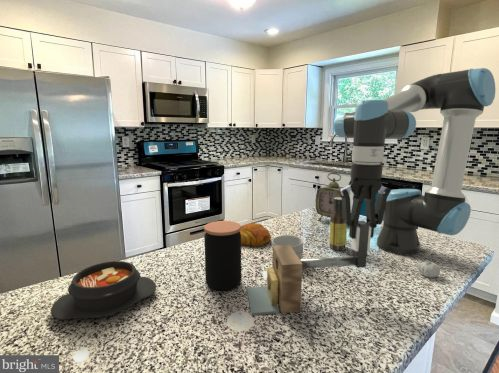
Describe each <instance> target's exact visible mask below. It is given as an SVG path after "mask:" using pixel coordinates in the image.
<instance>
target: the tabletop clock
mask: <svg viewBox="0 0 499 373" xmlns="http://www.w3.org/2000/svg"><path fill="white" fill-rule="evenodd" d="M330 175H338V176H339V179H336V178H335V177H334V178H329V176H330ZM327 179H328V180H329V181H330V182H329V183H328V185H326V186H323V187H320V188H317V191H316V194H315V211H316V213H317V214H318V215H320V217H318V218H317V219H318V221H319V220H321V221H322V218H323V217H326V218H330V216H331V213H332V212H333V210H334V198H336V197H340V198H342V196H341V194H340V191H339V189H340V188H344V187H341V186H340V185H339V183H338V182H339V181H341V179H342V176H341V175H340V173H338V172H331V173H328V175H327Z"/></svg>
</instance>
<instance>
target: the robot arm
mask: <svg viewBox="0 0 499 373" xmlns="http://www.w3.org/2000/svg"><path fill="white" fill-rule="evenodd" d="M495 97H496V82H495V78H494V75H493V73H492V71H491V70H490V69H488V68H484V67H482V68H481V67H480V68H469V69H464V70H458V71H451V72H446V73H445V72H444V73H438V74H433V75H429V76H427V77H424V78H422V79H419V80H417V81H415V82H412V83H411V84H409V85H406V86H404V87H403V88H402V89H401V90H400V91H399V92H397V93H395V94H392V95H389V96H388V97H385V98H383V99H366V100H360V101H358V102H357V103H356V105H355V111H353V112H344V113H340V114H338V115H337V116H336V117H335V119H334V121H333V130H334V133H335V134H336V136H337V137H339V138H346V139H353V142H352V149H351V150H352V153H351V161H352V163H351V164H350V165H351V166H350V181H349V183H348V185H346V186H345V187H343V188H340V189H339V191H340V194H341V196H342V213H343V222H344V223H345V224H347V227H348V226H349V230H348V231H349V232H348V236H349V238H350V239H351V244H350V247H351V249H352V250H353V249H354V250H355V251H358V249H359V237H360V228H359V227H358V221H360V220H359V219H360V215H361V212H362V204H363V203H364V200H365V215H366V216H365V218H366V221H365V222H367V223H368V224H369V235H368V247H367V252H369V251H370V249H371V248H370V247H371V239H373V238H374V236H375V235H374V232H375V229H376V228H378V225H382V224H383V225H382V228H381V229H380V232H379V234H378V237H377V238H376V246H377V247H378V248H380V249H381V250H383V251H386V252H389V253H392V254H396V255H397V254H398V255H404V256H406V255H416V254H419V253H420V251H421V250H420V249H421V244H420V239H419V236H418V232H417V229H418V228H421V229H424V230H428V231H431V232H435V233H438V234H441V235H442V234H443V235H447V236H456V235H459V233H461V232H462V231H463V230H464V228H465V227H466V225H467V223H468V221H469V219H470V217H471V212H472V211H471V205H470V204H469V203H468V202H465V201H466V195H465V194H464V193H463V192H462V188H463V182H464V180H465V179H464V177H465V174H466V168H467V163H468V158H469V154H470V149H471V143H472V140H473V139H472V138H473V134H474V128H475V124H476V119H477V118H478V117H479V116H481V115H483V114H484V110H485V107H489V106H491V105H492V104H493V102H494V100H495ZM435 109H437V110H438V109H440V111H439V113H440V114H441V115H442V116H443V122H442V123H443V124H442V127H441V132H440V138H439V144H438V147H437V148H438V149H437V154H436V158H435V164H434V170H433V174H432V180H431V186H430V187H429V188H428V189H426V190H424V195H422V193H423V192H422V191H421V190H420V189H416V188H398V189H391V188H389V187H386V186H384V185H383V184H382V181H381V180H382V178H383V168H384V165H383V164H382V163H383V161H384V152H385V144H386V140H402V139H406V138H409V137H410V136H411V135H412V134H413V133H414V132H415V130H416V128H417V120H416V117H415V115H414V114H413V113H415V112H418V111H421V110H435ZM351 192H352V194H353V195H352V196H353V197H352V205H351V196H350V195H351ZM376 195H377V198H376Z"/></svg>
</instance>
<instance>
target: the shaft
mask: <svg viewBox="0 0 499 373" xmlns="http://www.w3.org/2000/svg"><path fill="white" fill-rule="evenodd" d="M358 227H359V228H360V237H359V249H358V251H355V250H354V249H352V256H342V257H341V256H339V257H321V258H320V257H319V258H301V259H300V261H301V263H302V270H304V269H317V268H319V269H320V268H337V267H353V266H354V267H356V268H366V267H367V257H368V251H367V247H368V235H369V224H368V223H367V221H365V220H359V221H358Z"/></svg>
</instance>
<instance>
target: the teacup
mask: <svg viewBox="0 0 499 373" xmlns="http://www.w3.org/2000/svg"><path fill="white" fill-rule="evenodd" d="M303 239H304V238H301V237H300V236H297V235H292V234H290V235H289V234H288V233H283V234H282V235H279V236H275V237H273V238H271V245H272V246H271V247H272V248H271V249H272V250H271V251H273V246H278V245H290V246H291V247H292V249H293V250H294V252H295V253H296V255H297V256H298V258H299V259H303V256H304V240H303Z"/></svg>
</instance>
